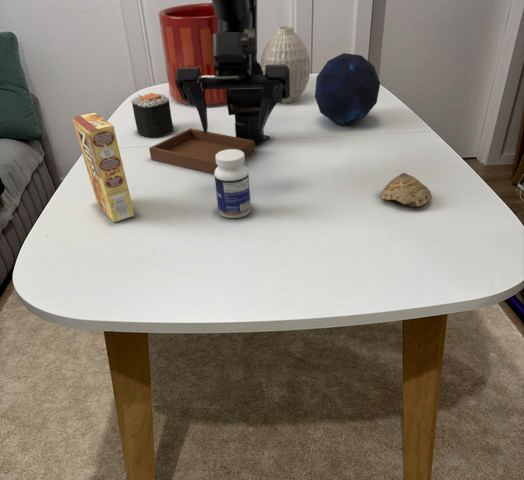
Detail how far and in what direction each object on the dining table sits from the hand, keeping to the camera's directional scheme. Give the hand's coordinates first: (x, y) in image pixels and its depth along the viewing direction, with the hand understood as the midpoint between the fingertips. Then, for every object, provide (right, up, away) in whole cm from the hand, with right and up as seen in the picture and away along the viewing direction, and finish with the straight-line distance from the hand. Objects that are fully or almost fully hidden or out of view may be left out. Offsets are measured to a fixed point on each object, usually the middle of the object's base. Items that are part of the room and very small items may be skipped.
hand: (232, 132), depth 84 cm
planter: (-9, +35, +58) cm, 68 cm away
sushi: (-21, +16, +37) cm, 45 cm away
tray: (-8, +5, +24) cm, 26 cm away
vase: (+11, +31, +52) cm, 61 cm away
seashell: (+30, -10, +5) cm, 32 cm away
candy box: (-21, -12, +6) cm, 25 cm away
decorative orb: (+25, +18, +37) cm, 48 cm away
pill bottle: (0, -12, +4) cm, 13 cm away
